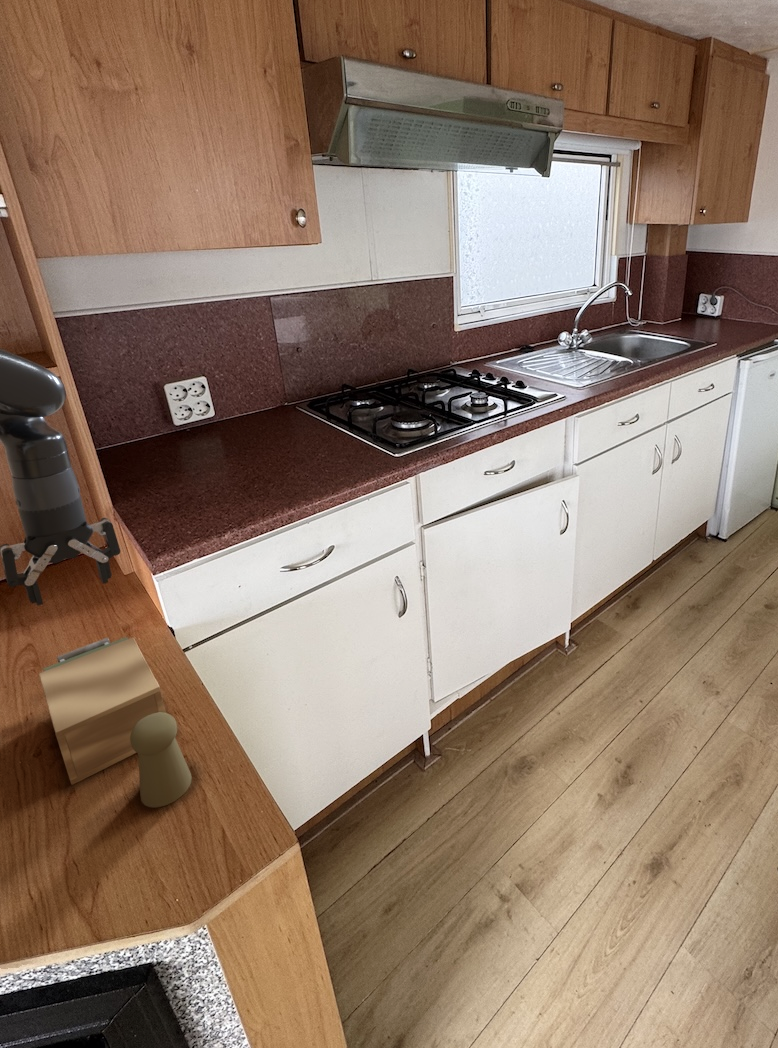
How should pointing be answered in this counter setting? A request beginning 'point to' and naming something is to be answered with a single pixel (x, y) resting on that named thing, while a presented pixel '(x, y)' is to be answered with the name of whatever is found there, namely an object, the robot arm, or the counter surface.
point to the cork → (159, 760)
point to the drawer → (83, 651)
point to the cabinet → (100, 706)
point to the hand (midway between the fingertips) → (72, 591)
